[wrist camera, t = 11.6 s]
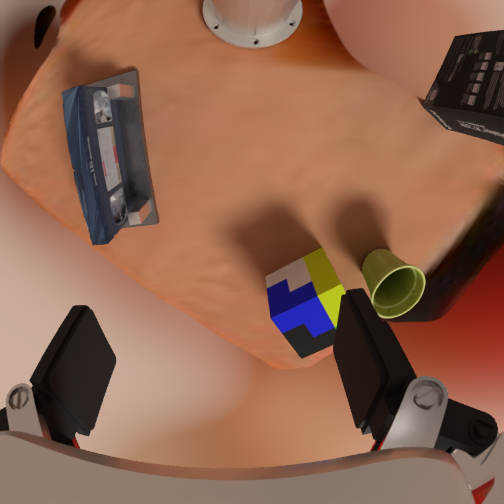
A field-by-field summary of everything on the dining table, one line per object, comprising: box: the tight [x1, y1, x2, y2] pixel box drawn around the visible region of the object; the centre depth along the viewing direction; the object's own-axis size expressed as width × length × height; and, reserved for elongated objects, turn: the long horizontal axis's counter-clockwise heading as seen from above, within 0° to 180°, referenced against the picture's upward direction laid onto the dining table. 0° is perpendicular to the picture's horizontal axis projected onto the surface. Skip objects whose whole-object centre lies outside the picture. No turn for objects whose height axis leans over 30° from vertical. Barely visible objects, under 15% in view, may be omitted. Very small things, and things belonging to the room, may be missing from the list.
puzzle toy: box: [265, 247, 346, 359], centre depth 42 cm, size 10×10×10 cm
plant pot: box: [362, 249, 425, 318], centre depth 41 cm, size 9×9×9 cm
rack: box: [86, 70, 159, 228], centre depth 32 cm, size 22×9×6 cm, turn 4°
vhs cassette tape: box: [62, 85, 133, 245], centre depth 29 cm, size 18×3×10 cm, turn 2°
